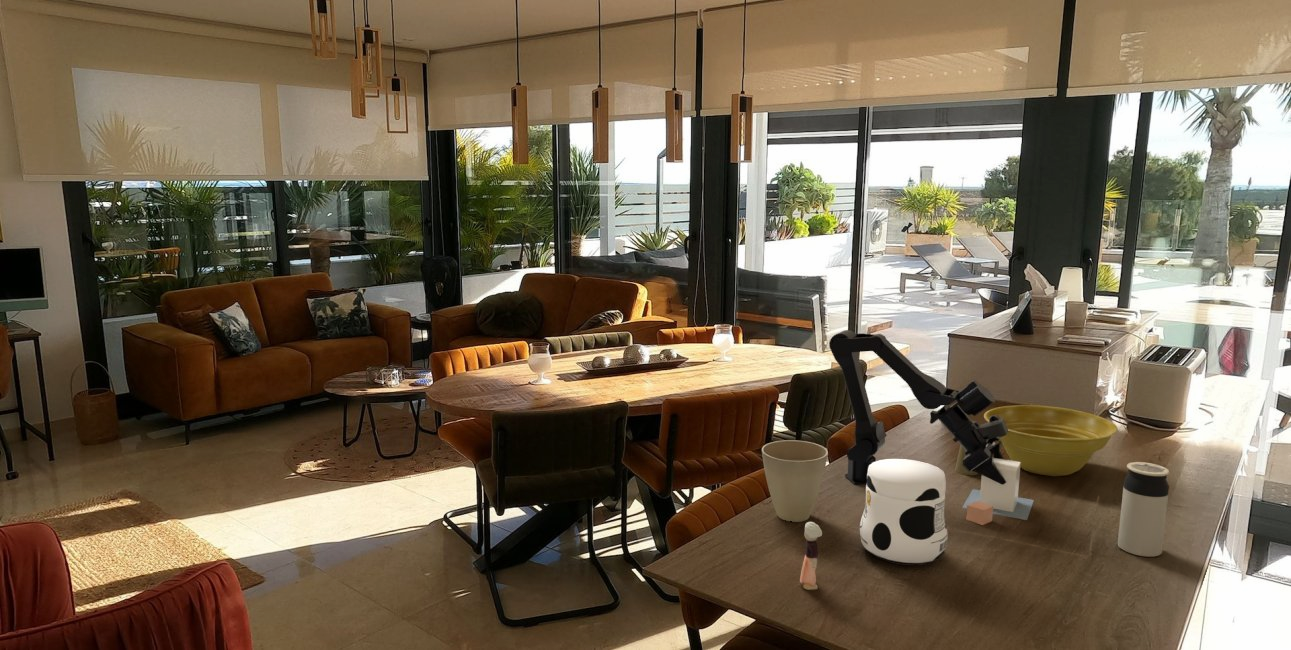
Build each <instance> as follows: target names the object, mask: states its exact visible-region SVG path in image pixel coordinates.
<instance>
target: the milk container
mask: <svg viewBox="0 0 1291 650" xmlns="http://www.w3.org/2000/svg"><path fill="white" fill-rule="evenodd" d="M946 489H947V483H946V475H945V472H944V470H942V469H941V468H939V467H938V466H936V465H933V464H931V463H927V462H922V461H919V460H914V459H905V458H887V459H880V460H876V462H873V463H872V464H870V465H869V467H868V473H867V483H866V485H865V505H864V510H863V513H862V516H861V519H860V523H859V536H860V541H861V544H862V546H863V548H864V549H865V550H866V551H867V552H868V553H869V554H871V555H873V556H875V557H876V558H878V559H880V560H883V561H886V562H889V563H892V564H898V565H904V566H920V565H921V566H922V565H928V564H930V563H933V562H935V561H937V560H939V559H941V557H942V556H943V555H944V554H945V551H946V547H947V544H948V528H947V523H946V520H945V519H946V518H945V504H946Z"/></svg>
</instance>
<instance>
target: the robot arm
mask: <svg viewBox="0 0 1291 650" xmlns="http://www.w3.org/2000/svg"><path fill="white" fill-rule="evenodd" d="M828 344H829V346H828V347H829V349H830V351H831V354H832V356H833V358H834V360H835V362H836V363H837V364H838V366H839V367H840V368H841V371H842V375H843V378H844V383H845V387H846V390H847V394H848V398H849V402H850V405H851V409H852V413H853V417H854V421H855V425H854V442H855V443H854V445H852V446H851V447H850V448H849V449H848V450H847V451H846V452H845V453H846V456H847V473H844V477H845V478H846V479H847V480H849V481H851V483H852V484H854V485H862V484H867V473H868V467H869V465H870V464H872V463H873V462H876V461H877V458H876V457H875V456H874V455H875V454H876V453H877V452H878V451H880V450H881V448H883V446H884V445H885V442H886V437H887V436H888V435H887V433H886V432H885V429H884V421H882V420H881V421H879V422H877V420H876V418H875V417H874V415H873V411H872V409H871V408H872V407H871V403H870V400H869V397H868V393H867V389H866V386H865V381H864V377H863V375H862V374H863V373H862V370H861V366H860V357H861V356H860V353H862V352H873V353H874V354H876V355H877V356H878V358H879V359H881V360H882V362H884V363H885V364H886V365H887V366H888V367H889V368H890V369H891V370H893V372H894V373H896V374H897V376H898V377H900V378H901V379H902V380H903V382H905V383H906V384H907V385H908V387H909V389H910V390H911V392H912V394H913V396H914V397H915V398H916V400H917V401H918V403H919V404H920V405H921V406H922V407H923V408H925V409H926V410H931V411H930V412H929V413H930V414H929V415H930V419H929V423H930V425H932V424H934V423H936V422H938V421H939V423H941V424H942V425H943V426H944V427H945V429H946V430H947V431H948V432H949V433H950V434H951V435H952V436H953V438H952V441H953V442H955V443H957V442H958V444H960V445H962V447H963V448H964V449H965V450H966V451H965V454H966V455H967V456H965V458H964V459H963V467H964V468H965V469H966V470H967V471H968V472H969V471H972V472H976V473H979V474H978V475H981V476H982V475H983V476H985V477H987V478H990V479H992V480H994V481H996V482H998V483H1000V484H1002V485H1003V484H1005V483H1006V481H1005V479H1004V477H1003V476H1002V474H1001V473H1000V471H999V470H998V468H997V467H996V465H995V464H994V462H993V460H994V458H998V459H1005V458H1004V456H1003V454H1002V451H1001V444H1002V442H1001V441H1000V438H1001V437H1003V436H1005V435H1007V432H1008V428H1007V426H1006V421H1004V419H1003V418H1000V417H999V416H997V415H993V416H991V417H990V419H989V422H988V421H986V422H985V423H983V424H980V423H979V421H976V420H971V418H970V417H969V416H971V415H972V416H977V415H980V413H981V412H983V411H985V410H986V409H988V408H989V407H990V406H991V405H993V404H994V403H995V402H996V400H995V397H994V396H993V394H992V393H991V391H990V390H989V389H988V388H987V387H985V386H984V385H982V384H981V383H979V382H978V381H977V380H976V379H973V380H972V381H971V382H970V383H968V385H966V386H965V387H963V388H962V390H957V389H953V388H949V387H946V386H945V385H944V384H943V383H942V382H940V381H939V380H937V379H936V378H934V377H933V376H931V375H929V374H926V373H925V372H923V371H921V370H920V368H918V367H917V366H916V365H915V364H914V363H912V361H910V359H908V358H907V357H906V356H905V355H904V354H903V353H902V352H901V351H900V350H899V349H897V348H896V347H895V346H894V345H893V344H892V343H891V342H890V341H889V340H888V339H887V337H886V336H885V335H884V334H882V333H877V334H875V333H874V334H873V333H861V332H860V333H856V332H854V331H852V330H849V329H845V330H841V331H840V332H838V333H836V334H834V335H833V336H831V338H830V340H829V343H828ZM955 401H956V402H955ZM953 402H955V403H953ZM952 403H953V404H952ZM951 404H952V405H951ZM939 407H941V408H939ZM938 408H939V409H938ZM937 409H938V410H937ZM996 441H997V442H996Z"/></svg>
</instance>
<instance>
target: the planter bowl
mask: <svg viewBox="0 0 1291 650" xmlns="http://www.w3.org/2000/svg"><path fill="white" fill-rule="evenodd" d="M993 415H997V416H999V417H1000V418H1003V419H1004V421H1006V426H1007V428H1008V432H1007V435H1005V436H1003V437H1001V438H1000V440H999V441H1001V444H1002V445H1003V448H1004V450H1005V452H1006V453H1007V456H1008V457H1009V460H1011V461H1017V462H1021V465H1020V469H1021V468H1022V469H1021V470H1023V469H1024V471H1025V472H1029V473H1033V474H1037V475H1044V476H1049V477H1052V476H1053V477H1054V476H1055V477H1061V476H1064V477H1065V476H1069V475H1072V474H1074V473H1076V472H1078V471H1080V470H1081V469H1082V468H1083V467H1084V466H1085V465H1086V464H1087V463H1088V461H1089V460H1090V459H1091V458H1092V457H1093V456H1092V455H1094V453H1096V452H1097V451H1100V450H1101V449H1103V448H1105V447H1106V445H1107V444H1108V442H1109V441H1110V439H1111V437H1113V436H1114V435H1116V434H1117V433H1118V431H1119V429H1118V427H1117V425H1116V424H1115V423H1113V422H1112V421H1110V420H1109V419H1106V418H1104V417H1102V416H1099V415H1095V414H1092V413H1089V412H1085V411H1080V410H1076V409H1072V408H1065V407H1057V406H1047V405H1035V404H1033V405H1030V404H1027V405H1026V404H1022V405H1021V404H1020V405H1016V404H1015V405H1005V406H999V407H994V408H991V409H989V410H987V411H986V412H984V414H983V418H984V420H985V421H986V422H989V419H990V417H991V416H993Z"/></svg>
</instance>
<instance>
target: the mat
mask: <svg viewBox="0 0 1291 650" xmlns="http://www.w3.org/2000/svg"><path fill="white" fill-rule="evenodd" d="M980 491H981V489H975V488H972V490H971V491H970V493H969V495H968V497H967V498H966V500H965V502H964V504H963V505H962V509H965V510H967V505H968V504H971V503H973V502H976V501H979V502H980ZM1034 502H1035V500H1034V499H1031V498H1024V497H1019V496H1018V501H1017V504H1016V506H1015V509H1014V511H1013V512H1010V511H1004V510H999V509H994V508H993V515H998V516H1003V517H1008V518H1014V519H1019V520H1024V521H1028V518H1029V515H1030V512H1031V509H1032V507H1033V504H1034Z"/></svg>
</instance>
